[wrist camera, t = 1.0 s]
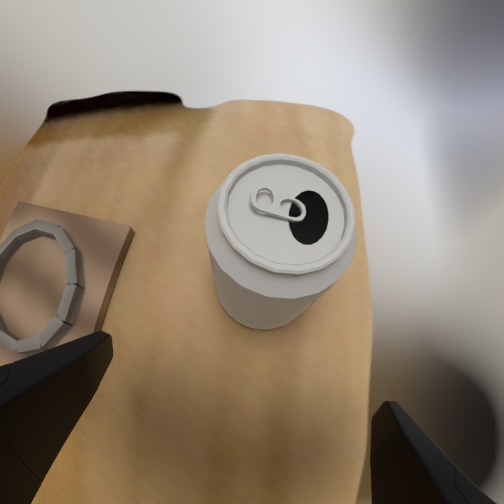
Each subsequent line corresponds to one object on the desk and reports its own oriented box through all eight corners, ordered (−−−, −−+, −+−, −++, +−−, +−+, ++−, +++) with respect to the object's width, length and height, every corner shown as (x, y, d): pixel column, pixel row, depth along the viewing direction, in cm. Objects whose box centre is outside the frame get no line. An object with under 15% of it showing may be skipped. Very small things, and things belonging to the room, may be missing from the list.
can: (298, 341, 21) (364, 306, 10) (204, 317, 22) (175, 259, 11) (314, 255, 24) (371, 164, 13) (229, 233, 25) (230, 127, 14)
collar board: (82, 406, 18) (66, 408, 15) (-24, 337, 18) (-40, 332, 16) (134, 232, 24) (125, 217, 22) (23, 206, 25) (11, 194, 22)
